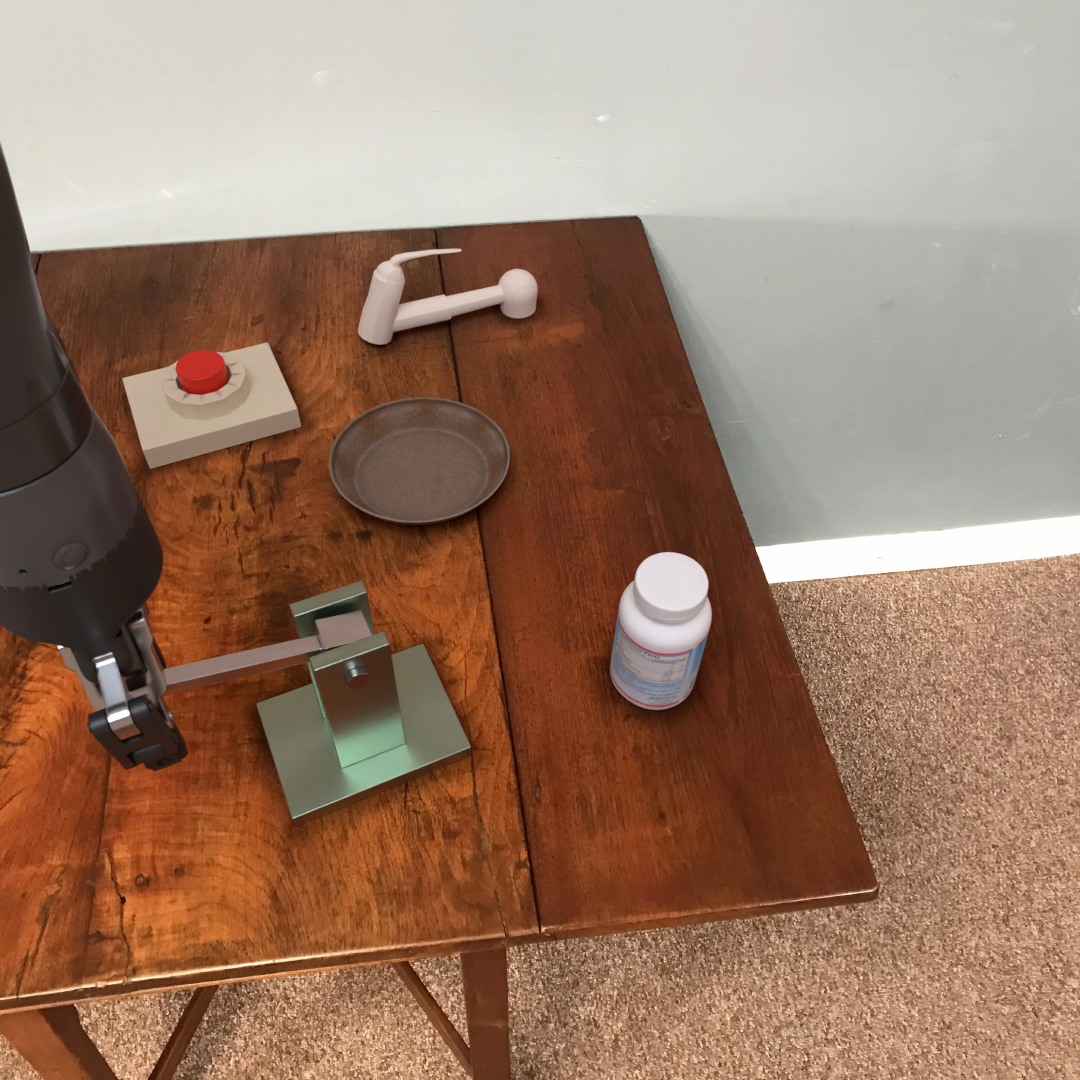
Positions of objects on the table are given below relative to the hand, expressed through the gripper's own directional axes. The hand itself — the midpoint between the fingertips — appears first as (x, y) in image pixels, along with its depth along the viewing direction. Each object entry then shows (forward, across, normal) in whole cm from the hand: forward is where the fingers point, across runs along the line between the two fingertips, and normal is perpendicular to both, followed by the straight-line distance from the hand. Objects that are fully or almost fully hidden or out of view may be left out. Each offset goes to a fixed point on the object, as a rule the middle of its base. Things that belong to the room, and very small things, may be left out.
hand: (157, 714), depth 52 cm
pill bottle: (+11, +4, +31) cm, 33 cm away
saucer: (+11, -21, +23) cm, 33 cm away
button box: (+10, -36, +9) cm, 39 cm away
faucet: (+11, -40, +33) cm, 53 cm away
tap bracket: (+10, 0, +11) cm, 15 cm away
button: (+7, -36, +9) cm, 38 cm away
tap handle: (0, 0, +5) cm, 6 cm away
